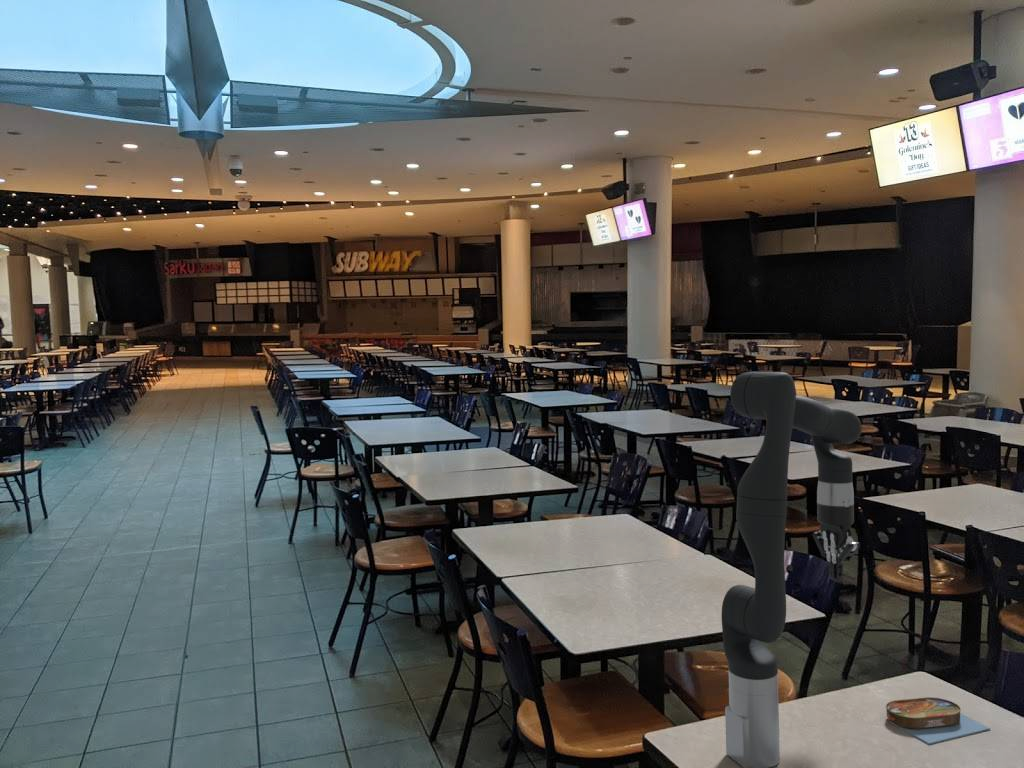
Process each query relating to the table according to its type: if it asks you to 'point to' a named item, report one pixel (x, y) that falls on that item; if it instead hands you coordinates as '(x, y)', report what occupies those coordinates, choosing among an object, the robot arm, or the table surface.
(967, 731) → the mat
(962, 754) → the table surface
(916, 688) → the table surface
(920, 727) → the tin
